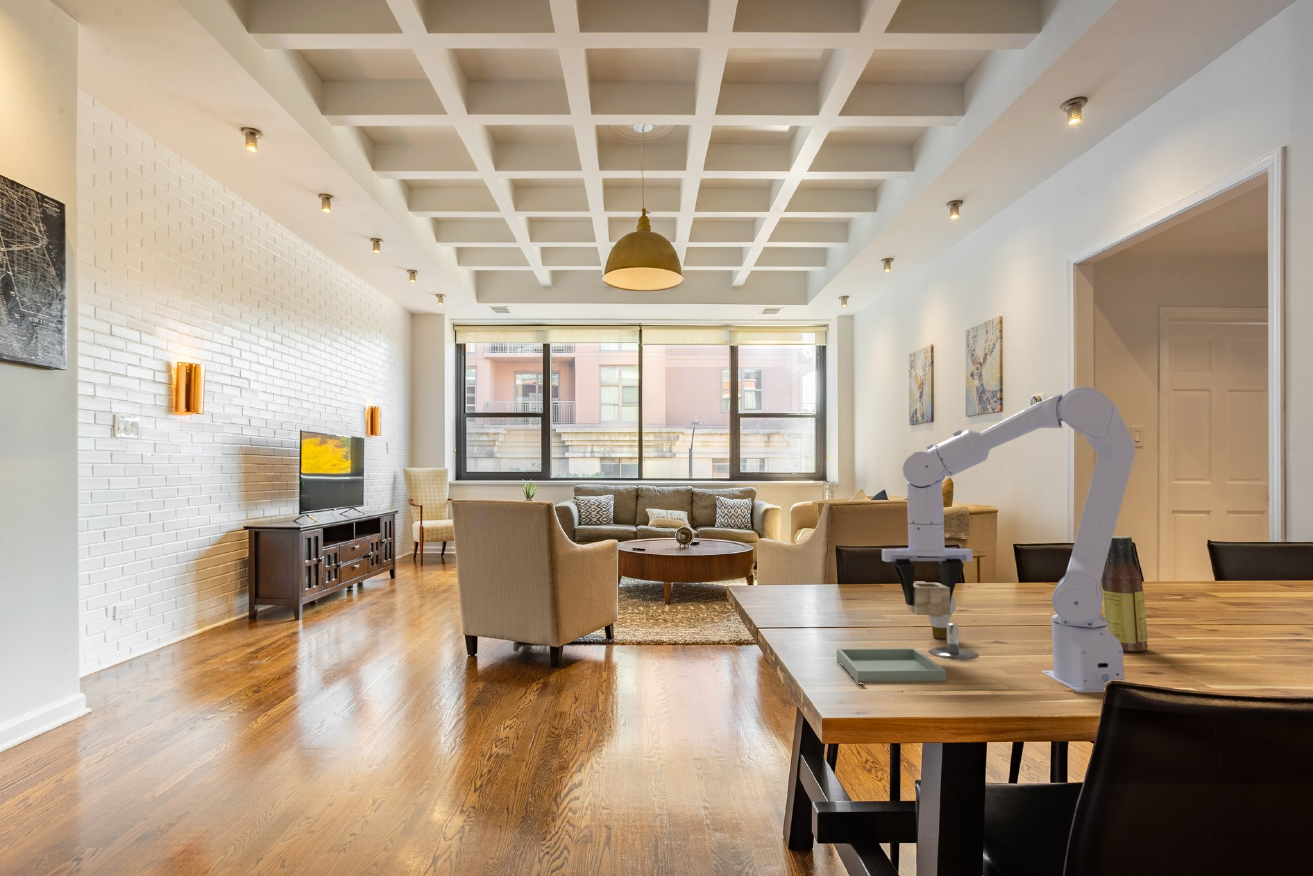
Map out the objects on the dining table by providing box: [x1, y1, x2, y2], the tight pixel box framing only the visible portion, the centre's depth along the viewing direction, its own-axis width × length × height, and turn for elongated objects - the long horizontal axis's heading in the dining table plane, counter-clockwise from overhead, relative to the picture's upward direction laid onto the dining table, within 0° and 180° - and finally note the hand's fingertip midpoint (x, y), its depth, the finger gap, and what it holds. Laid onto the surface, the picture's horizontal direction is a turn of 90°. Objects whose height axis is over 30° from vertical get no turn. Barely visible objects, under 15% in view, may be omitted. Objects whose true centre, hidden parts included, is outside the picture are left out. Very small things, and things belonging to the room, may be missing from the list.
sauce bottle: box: [1100, 535, 1149, 653], centre depth 123 cm, size 7×6×20 cm
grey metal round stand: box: [928, 622, 980, 661], centre depth 119 cm, size 8×8×6 cm
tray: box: [836, 647, 947, 683], centre depth 111 cm, size 13×13×2 cm
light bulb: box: [927, 594, 957, 640], centre depth 130 cm, size 6×6×10 cm
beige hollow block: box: [906, 580, 951, 617], centre depth 117 cm, size 8×5×4 cm, turn 178°
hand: (927, 604), depth 116 cm, fingers closed on beige hollow block, 5 cm apart
